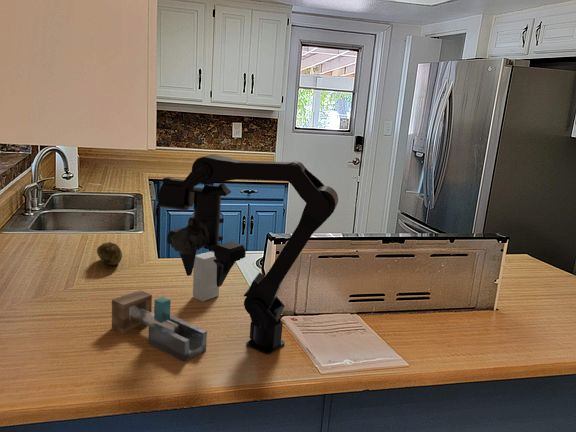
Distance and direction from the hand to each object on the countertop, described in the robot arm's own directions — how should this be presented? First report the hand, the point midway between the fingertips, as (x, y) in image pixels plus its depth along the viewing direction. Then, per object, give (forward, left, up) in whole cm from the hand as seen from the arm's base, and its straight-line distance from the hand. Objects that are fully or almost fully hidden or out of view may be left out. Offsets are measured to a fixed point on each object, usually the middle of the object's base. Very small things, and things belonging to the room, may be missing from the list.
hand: (203, 280), depth 110 cm
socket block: (+14, +8, -13) cm, 21 cm away
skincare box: (+14, -16, -13) cm, 25 cm away
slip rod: (+8, +8, -11) cm, 16 cm away
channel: (-1, +8, -13) cm, 15 cm away
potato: (+51, -13, -13) cm, 54 cm away
